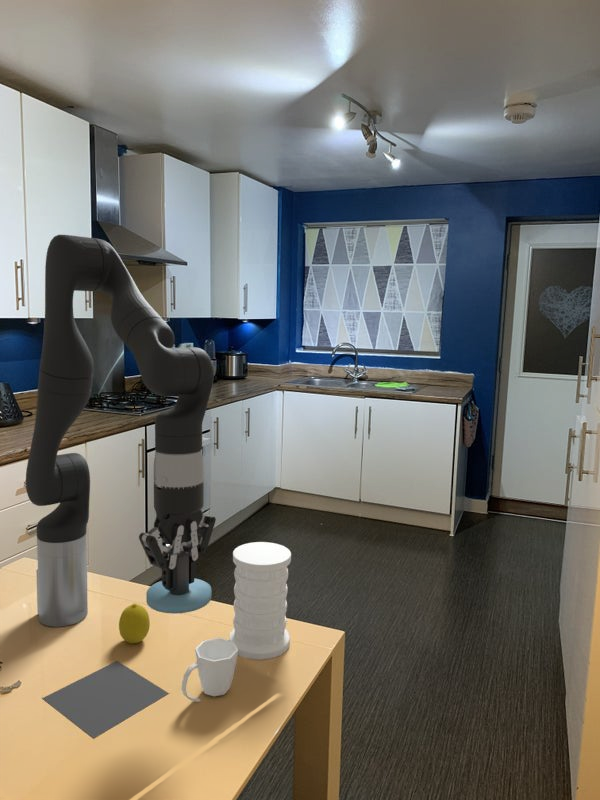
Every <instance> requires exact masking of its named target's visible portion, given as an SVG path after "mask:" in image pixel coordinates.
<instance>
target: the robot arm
mask: <svg viewBox="0 0 600 800" xmlns="http://www.w3.org/2000/svg"><path fill="white" fill-rule="evenodd" d="M46 251H47V252H46V255H45V256H46V257H45V267H44V268H45V269H44V270H45V274H44V275H45V276H44V277H45V278H44V285H45V286H44V327H43V339H42V349H41V357H40V364H39V373H38V380H37V381H38V382H37V398H36V399H37V401H36V411H35V420H34V421H35V422H34V426H33V428H34V430H33V434H32V439H31V443H30V444H31V445H30V450H29V455H28V458H27V463H26V464H27V465H26V472H25V489H26V494H27V498H28V499H29V501H30V502H31V504H33V505H35V506H38V507H45V506H51V505H56V504H58V505H57V507H56V508H54V510H53V511H51V512H49V514H47V515H46V516H44V517H42V518H41V519H40V520H38V523H37V524H36V554H37V555H36V556H37V557H36V558H37V569H36V603H37V604H36V605H37V615H38V620H39V622H40V623H41V624H42V625H43V626H48V627H54V628H58V627H66V626H71V625H74V624H77V623H80V622H81V621H83V620H84V619H85V618H86V617H87V615H88V613H89V612H88V608H89V607H88V605H89V604H88V547H87V545H88V543H87V542H88V541H87V538H88V537H87V536H88V535H87V534H88V533H87V527H88V523H89V519H90V518H89V517H90V496H91V495H90V494H91V493H90V492H91V474H90V468H89V464H88V462H87V460H86V458H85V457H84V456H83V455H82V454H80V453H77V452H70V453H68V452H67V453H63V454H58V452H59V449H60V446H61V443H62V441H63V438H65V437H64V436H65V435H66V433H67V432H68V430H69V429H70V428H71V426H73V424H74V423H75V422H76V421H77V419H78V418H79V416H80V415H81V413H83V411H84V409H85V408H86V406H87V404H88V402H89V400H90V399H91V395H92V388H93V379H94V373H95V372H94V371H95V363H94V359H93V355H92V353H91V352H90V349H89V347H88V344H87V342H86V341H85V339H84V338H83V336H82V334H81V331H80V330H79V328H78V325H77V323H76V320H75V316H74V315H75V314H74V294H75V291H77V292H101V293H103V294H104V295H106V296H108V297H109V298H110V300H112V301H111V305H110V321H111V325H112V327H113V329H114V331H115V333H116V335H117V336H118V337H119V339H120V340H121V341H122V342H123V344H124V345H125V346H126V348H128V349H129V350H130V352H131V353H132V356H133V357H134V360H135V362H136V365H137V368H138V371H139V374H140V377H141V380H142V383H143V385H144V387H146V388H147V390H149V391H150V392H151V393H153V394H155V395H156V396H161V397H171V396H178V397H177V400H176V402H175V403H174V405H173V406H172V407H170V408H169V409H165V410H164V411H161V412H160V413H158V414H157V415H156V418H155V420H154V421H155V422H154V459H153V509H154V511H155V516H156V517H155V519H154V523H153V527H152V528H151V529H150V530H149V531H148V532H141V533H140V534H139V535H138V540H139V542H140V544H141V546H142V549H143V550H144V553H145V555H146V557H147V559H148V561H149V564H150V566H151V565H152V566H154V567H157V568H159V569H160V570H161V581H162V585H163V587H165V589H167V590H169V591H171V592H172V591H175V590H176V589H177V568H175V566H176V559H177V554H179V552H180V551H186V552H188V553H189V584H191V583H194V578H195V579H196V577H197V560H198V558H199V556H200V555H201V554H205V553H206V551H207V549H208V547H209V544H210V540H211V536H212V533H213V531H214V527H215V524H216V520H217V519H216V517H215V516H212V515H209V514H207V513H204V512H203V511H202V509H203V508H204V506H205V505H204V500H205V499H204V498H205V497H204V496H205V495H204V494H205V492H204V491H205V490H204V489H205V488H204V487H205V483H204V481H205V480H204V479H205V475H204V473H205V472H204V471H205V466H204V465H205V464H204V456H203V421H204V417H205V416H206V411H207V408H208V404H209V401H210V397H211V393H212V389H213V384H214V378H215V377H214V376H215V370H214V365H213V361H212V359H211V357H210V356H209V354H208V353H207V352H206V350H204V349H202V348H200V347H195V346H194V347H191V346H190V347H188V346H187V347H174V345H175V333H174V331H173V330H172V328H171V327H170V326H169V324H168V323H167V322H166V321H165V320H164V319H163V317H161V316H160V314H159V313H158V312H157V311H156V310H155V309H154V308H153V306H151V304H149V302H148V301H147V300H146V299H145V297H144V296H143V294H142V292H140V290H139V288H138V286H137V285H136V282H135V280H134V278H133V277H132V276H131V274H130V272H129V270H128V269H127V267H126V265H125V264H124V262H123V260H122V258H121V256H120V255H119V253H118V252H117V251H116V249H115V247H113V246H112V245H111V243H110V242H107V241H106V240H105V239H100V238H96V237H89V236H88V237H87V236H80V235H73V234H72V235H71V234H56V235H55V236H53V237H52V239H51V240H50V242H49V244H48V247H47V249H46Z"/></svg>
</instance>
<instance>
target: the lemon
mask: <svg viewBox="0 0 600 800" xmlns="http://www.w3.org/2000/svg"><path fill="white" fill-rule="evenodd" d="M150 624H151V623H150V615H149V612H148V611H147V609H146V608H145V607H144V606H143V605H141V604H137V603H133V604H131V605H129V606H127V607H125V608H124V609H123V610H122V613H121V614H120V617H119V622H118V630H119V635H120V637H121V638H122V639H123V640H124V641H125V642H127V643H130V644H137V643H140V642H141V641H143V640H144V639H146V637H147V635H148V634H149V631H150V626H151V625H150Z"/></svg>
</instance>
